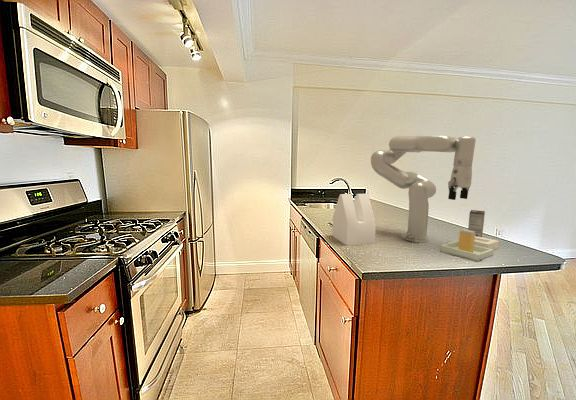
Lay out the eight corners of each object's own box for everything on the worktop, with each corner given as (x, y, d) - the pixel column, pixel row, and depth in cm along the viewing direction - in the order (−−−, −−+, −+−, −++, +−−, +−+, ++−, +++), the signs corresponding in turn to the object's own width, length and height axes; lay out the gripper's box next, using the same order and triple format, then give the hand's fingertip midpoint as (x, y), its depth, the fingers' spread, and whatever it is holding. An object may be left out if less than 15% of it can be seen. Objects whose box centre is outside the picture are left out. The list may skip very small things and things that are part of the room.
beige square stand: (487, 252, 127) (488, 244, 127) (462, 246, 137) (463, 238, 136) (498, 248, 133) (499, 240, 132) (473, 243, 142) (474, 235, 142)
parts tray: (477, 261, 115) (478, 255, 115) (440, 251, 129) (440, 245, 128) (492, 256, 122) (493, 249, 122) (455, 246, 136) (456, 241, 136)
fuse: (469, 254, 123) (471, 232, 121) (458, 250, 127) (460, 230, 126) (473, 252, 124) (475, 231, 123) (461, 249, 129) (463, 229, 127)
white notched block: (332, 236, 156) (333, 192, 152) (357, 234, 159) (358, 192, 156) (346, 245, 137) (348, 196, 134) (374, 244, 140) (376, 196, 137)
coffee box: (468, 237, 153) (470, 209, 150) (482, 239, 149) (485, 210, 147) (466, 241, 145) (469, 211, 143) (481, 243, 142) (484, 213, 139)
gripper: (460, 163, 122) (455, 201, 125) (481, 164, 130) (475, 199, 133) (444, 162, 128) (439, 198, 131) (464, 163, 136) (459, 197, 139)
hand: (457, 198), depth 132 cm, fingers open, 9 cm apart
